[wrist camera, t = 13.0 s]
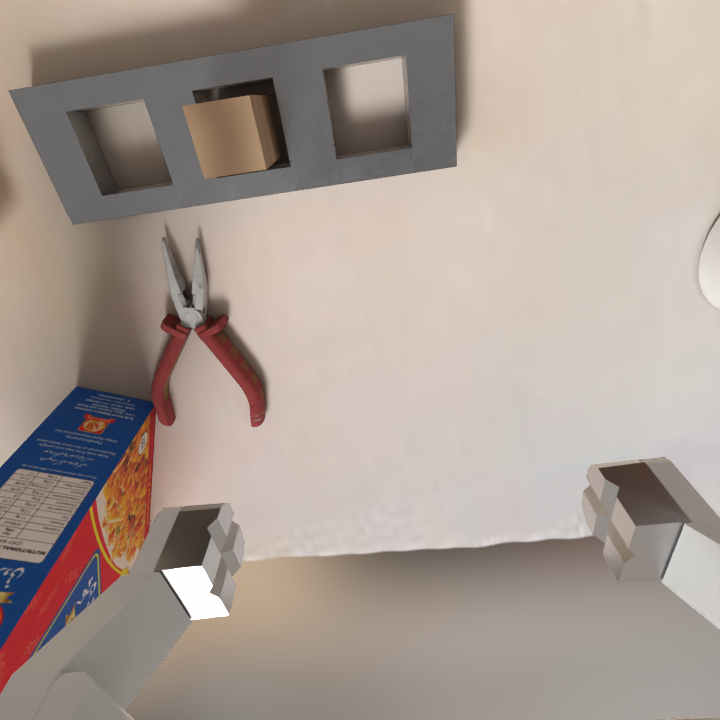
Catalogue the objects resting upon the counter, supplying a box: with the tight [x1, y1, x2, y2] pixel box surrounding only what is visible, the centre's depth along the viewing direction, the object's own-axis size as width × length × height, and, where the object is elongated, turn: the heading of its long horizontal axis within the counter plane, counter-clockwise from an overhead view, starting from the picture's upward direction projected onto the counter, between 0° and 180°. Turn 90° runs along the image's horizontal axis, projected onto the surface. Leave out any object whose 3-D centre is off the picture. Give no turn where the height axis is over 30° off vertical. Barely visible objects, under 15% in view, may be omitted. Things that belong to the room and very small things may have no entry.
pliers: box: [151, 237, 265, 427], centre depth 42 cm, size 12×20×3 cm, turn 178°
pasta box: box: [0, 387, 156, 694], centre depth 41 cm, size 28×8×28 cm, turn 164°
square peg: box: [182, 95, 283, 179], centre depth 29 cm, size 4×4×8 cm
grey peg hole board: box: [9, 14, 457, 225], centre depth 32 cm, size 30×9×2 cm, turn 98°
